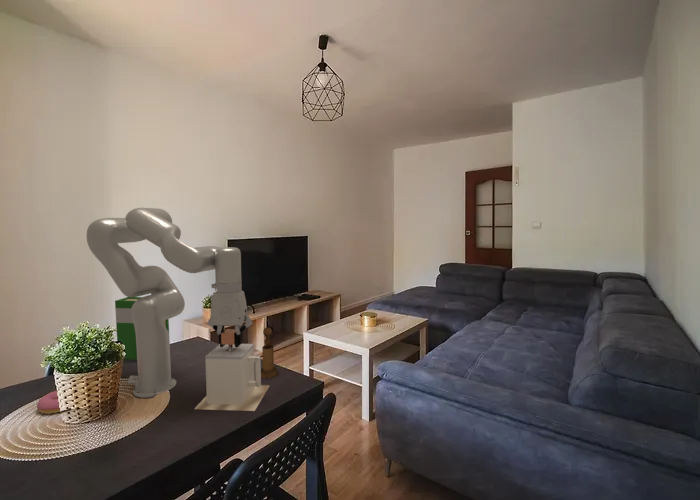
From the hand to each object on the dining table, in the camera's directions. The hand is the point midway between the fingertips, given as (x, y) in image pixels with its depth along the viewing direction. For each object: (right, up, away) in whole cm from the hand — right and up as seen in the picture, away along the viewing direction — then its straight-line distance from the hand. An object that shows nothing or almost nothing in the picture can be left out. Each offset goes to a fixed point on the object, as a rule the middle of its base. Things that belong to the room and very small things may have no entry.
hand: (230, 345), depth 110 cm
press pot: (+2, -16, +1) cm, 16 cm away
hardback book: (-48, -15, +37) cm, 62 cm away
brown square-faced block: (0, -14, +1) cm, 14 cm away
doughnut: (-50, -18, -3) cm, 53 cm away
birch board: (+1, -17, +1) cm, 17 cm away
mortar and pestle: (+8, -16, +17) cm, 25 cm away
